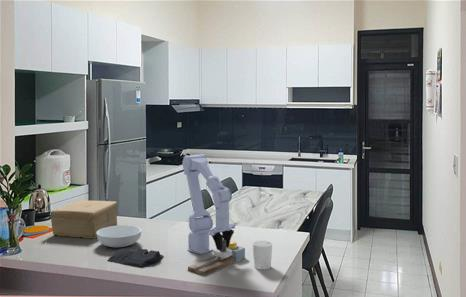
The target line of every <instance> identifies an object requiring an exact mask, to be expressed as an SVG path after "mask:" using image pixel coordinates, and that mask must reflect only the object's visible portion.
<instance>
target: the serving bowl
mask: <svg viewBox="0 0 466 297" xmlns="http://www.w3.org/2000/svg"><path fill="white" fill-rule="evenodd" d="M96 234H97V237H96V238H97V240H98V241H99V243H100V244H102V245H103V246H106V247H110V248H117V249H121V248H126V247H129V246H131V245H133V244H135V243H137V242H138V241H139V239H140V238H141V236H142V229H141V227H138V226H135V225H129V224H128V225H123V224H122V225H121V224H119V225H117V226H110V227H106V228H102V229H100V230H98V231H97V233H96Z"/></svg>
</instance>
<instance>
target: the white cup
mask: <svg viewBox="0 0 466 297" xmlns="http://www.w3.org/2000/svg"><path fill="white" fill-rule="evenodd" d="M252 249H253V250H252V252H253V267H254V268H255V269H257V270H260V271H265V270H270V269H271V267H272V266H271V265H272V253H273V243H272V242H271V241H268V240H256V241H254V242H253V243H252Z"/></svg>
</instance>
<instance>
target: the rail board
mask: <svg viewBox="0 0 466 297" xmlns="http://www.w3.org/2000/svg"><path fill="white" fill-rule="evenodd" d="M235 263H236V258H234V257H228V258H225V259H223V260H221V257H217V258H216V256H215V255H213V256H212V257H209V258H207V259H204V260H201V261H198V262H196V263H193V264H191V265H189V266H187V271H189V272H193V273H196V274H199V275H201V276H205V275H206V276H207V275H208V274H210V273H213V272H216V271H217V270H220V269H222V268H225V267H227V266H229V265H231V264H235Z"/></svg>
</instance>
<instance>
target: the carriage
mask: <svg viewBox="0 0 466 297" xmlns="http://www.w3.org/2000/svg"><path fill="white" fill-rule="evenodd" d="M231 255H232V250H228V249H226V240H225V239H223V240H222V249H221V250H217V249H213V256H216V258H217V257H221V260H223V259H225V258H228V257H230V256H231Z"/></svg>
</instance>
